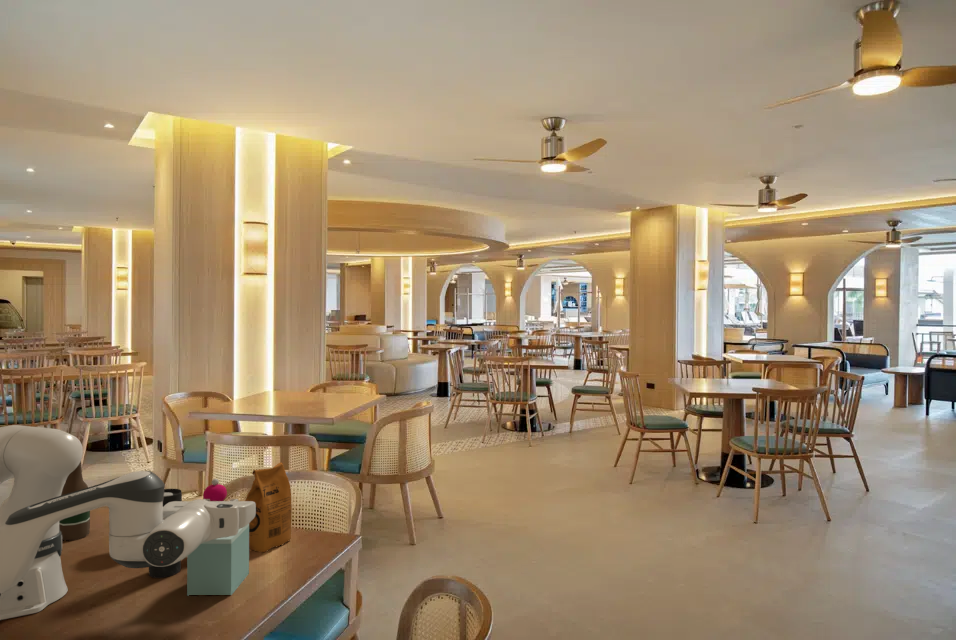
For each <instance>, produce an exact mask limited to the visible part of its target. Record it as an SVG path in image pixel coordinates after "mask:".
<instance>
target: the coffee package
mask: <svg viewBox="0 0 956 640" xmlns="http://www.w3.org/2000/svg"><path fill="white" fill-rule="evenodd" d="M251 474H252V475H253V476H254V480H253V482H252V484H251V488H250V490H249V491H248V493H247V495H246V497H245V500H244V501H253V502H255V504H256V515H255V517H254V519H253V520H252V521H251V522H250V523H249V550H251V551H255V552H257V553H258V552H259V553H265V552H266V553H267V551H269V550H271V549H273V548H277V547H276V546H279V547H281V546H280V545H282V544H283V545H285V544H286V543H287V542H289V541H291V540H290V539H292V517H293V516H292V515H293V514H292V513H293V512H292V510H293V509H292V507H293V506H292V490H291V489H292V488H291V482H290V480H289V477H288V475H287V472H286V469H285V466H284V464H283V463H282V462H278V463H276V465H275V466H273V467H272V468H271V467H270V468H264V469H262V468H261V469H259V468H258V469H253V470H252V472H251ZM285 542H286V543H285ZM284 543H285V544H284ZM283 545H282V546H283Z"/></svg>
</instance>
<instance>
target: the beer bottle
mask: <svg viewBox="0 0 956 640" xmlns="http://www.w3.org/2000/svg"><path fill="white" fill-rule="evenodd" d="M82 469H83V468H82V460H81V461H80V463H79V465H78V466H77V468H76V469H75V470H74V471H73V472H71V473H70V474H69V476H68V477H67V479H66V481H65V484H64V487H63V490H62V493H61V495H65V494H68V493H71V492H75V491H78V490H81V489H85V488H88V485H87V483H86V482H85V481H84V478H83V473H82V472H83V471H82ZM59 530H60V531H61V535H62V541H63V540H69V541H76V540H75V539H77V540H79V538H80V539H84V538H86V537H87V536H89V534H90V530H91V510H90V511H87V512H84V513H81V514H78V515H74V516H71V517H68V518H65V519H63V520H60V521H59ZM83 537H84V538H83Z"/></svg>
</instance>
